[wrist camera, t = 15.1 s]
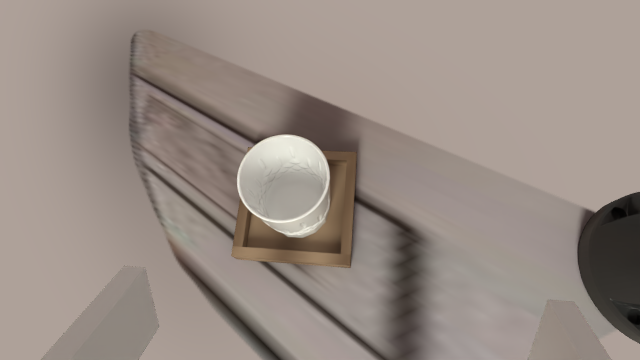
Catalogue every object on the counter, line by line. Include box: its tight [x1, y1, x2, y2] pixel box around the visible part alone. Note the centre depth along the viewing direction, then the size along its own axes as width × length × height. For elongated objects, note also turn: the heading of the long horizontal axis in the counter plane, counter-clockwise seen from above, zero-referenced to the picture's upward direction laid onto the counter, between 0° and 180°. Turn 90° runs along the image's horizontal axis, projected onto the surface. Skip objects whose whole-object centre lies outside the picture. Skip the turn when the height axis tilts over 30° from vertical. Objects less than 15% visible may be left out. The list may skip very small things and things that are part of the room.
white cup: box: [237, 134, 331, 238], centre depth 38 cm, size 8×8×10 cm
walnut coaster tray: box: [231, 147, 357, 268], centre depth 42 cm, size 12×12×2 cm
